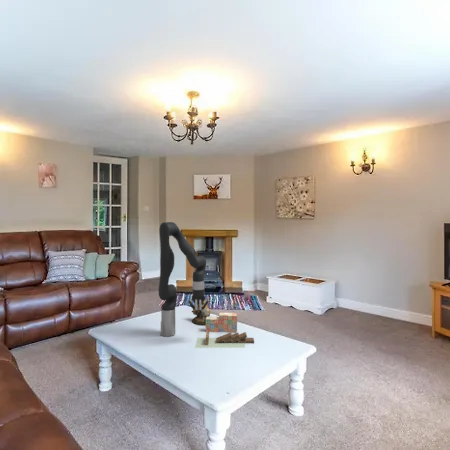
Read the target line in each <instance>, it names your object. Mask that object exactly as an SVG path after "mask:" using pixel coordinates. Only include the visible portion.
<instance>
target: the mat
mask: <svg viewBox="0 0 450 450" xmlns="http://www.w3.org/2000/svg"><path fill="white" fill-rule="evenodd" d="M216 338H217V337H209V344H208V345H206V337H197V338H196V341H195V342H196V343H195V347H194V348H195V349H199V348H200V349H204V348H205V349H209V348H211V349H212V348H213V349H216V348H219V349H222V348H225V349H226V348H227V349H229V348H230V349H232V348H235V349H237V348H240V349H241V348H242V349H243V348H244V349H245V348H246V345H245V344H246V343H238V341H236V342H234V343H232V342H231V341H229V342H227V343H224V341H222V342H219V343H217V342H216Z"/></svg>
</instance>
